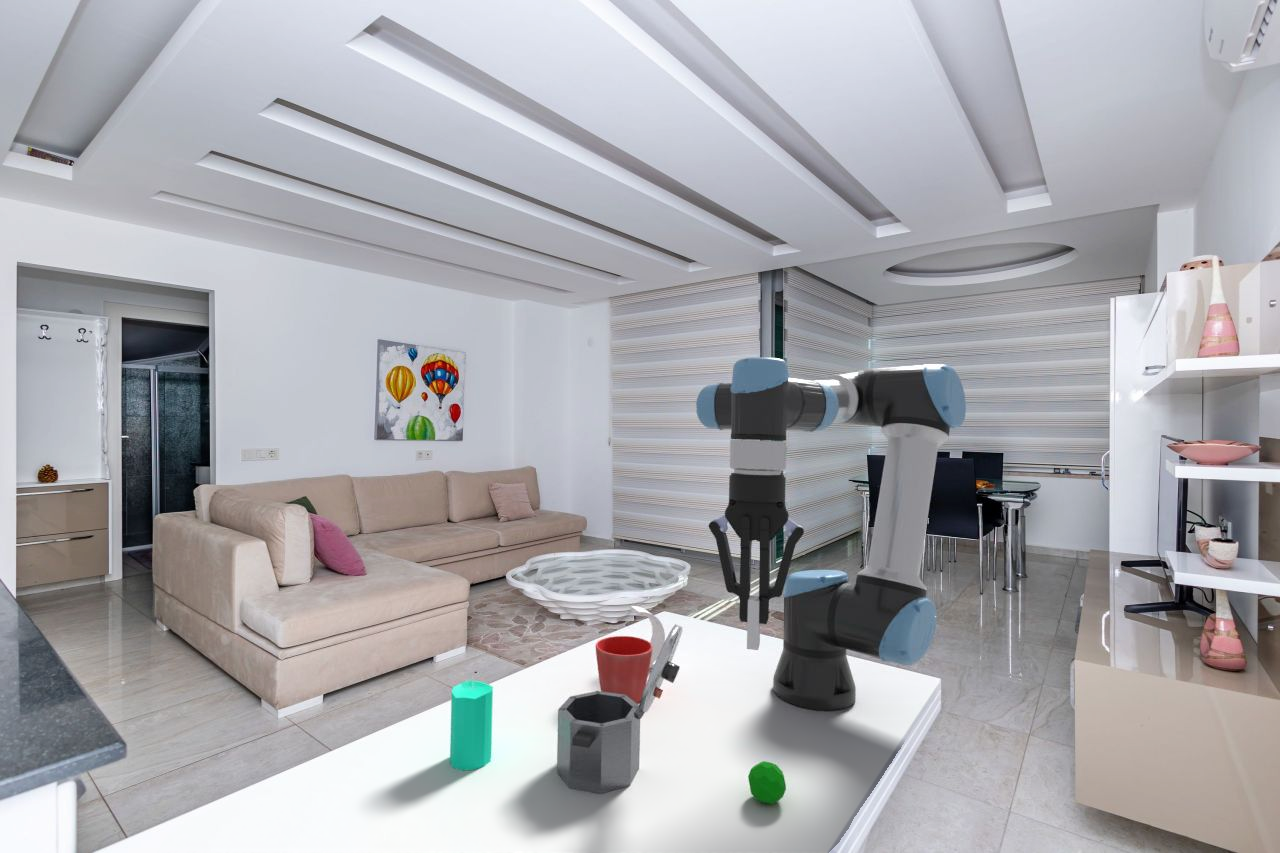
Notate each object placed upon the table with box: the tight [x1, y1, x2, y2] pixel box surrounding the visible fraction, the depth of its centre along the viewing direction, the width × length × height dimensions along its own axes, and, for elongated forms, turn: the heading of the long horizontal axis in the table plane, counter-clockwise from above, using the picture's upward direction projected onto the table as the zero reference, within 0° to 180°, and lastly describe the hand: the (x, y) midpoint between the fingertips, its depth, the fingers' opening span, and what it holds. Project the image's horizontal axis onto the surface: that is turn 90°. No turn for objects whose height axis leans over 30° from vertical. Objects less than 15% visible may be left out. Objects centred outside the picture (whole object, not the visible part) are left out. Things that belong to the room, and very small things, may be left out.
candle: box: [449, 677, 494, 771], centre depth 93 cm, size 6×6×12 cm
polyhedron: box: [747, 761, 787, 805], centre depth 84 cm, size 5×5×5 cm
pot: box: [556, 690, 641, 795], centre depth 91 cm, size 11×15×9 cm
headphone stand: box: [630, 605, 666, 670], centre depth 132 cm, size 5×6×12 cm
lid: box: [634, 623, 683, 720], centre depth 88 cm, size 13×12×3 cm
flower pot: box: [595, 635, 653, 704], centre depth 116 cm, size 11×11×10 cm
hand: (753, 646), depth 85 cm, fingers closed
